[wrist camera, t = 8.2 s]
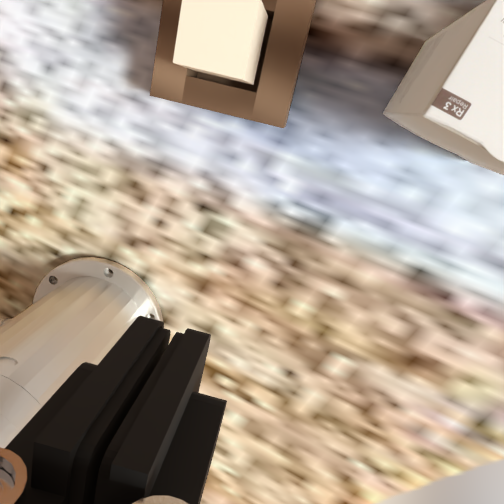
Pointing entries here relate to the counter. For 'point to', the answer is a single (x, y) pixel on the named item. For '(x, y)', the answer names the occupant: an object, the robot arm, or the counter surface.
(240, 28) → the cream key
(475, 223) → the counter surface
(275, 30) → the brown slotted tray
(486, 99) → the skincare box
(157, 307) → the robot arm
